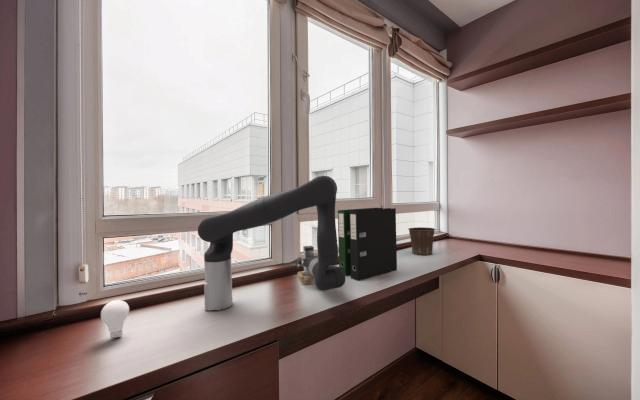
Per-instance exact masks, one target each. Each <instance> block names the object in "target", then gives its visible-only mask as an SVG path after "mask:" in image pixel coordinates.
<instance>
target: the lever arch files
mask: <svg viewBox="0 0 640 400" xmlns="http://www.w3.org/2000/svg"><path fill="white" fill-rule="evenodd" d="M396 211H397V208H396V207H394V208H392V207H388V208H387V207H386V208H383V207H368V208H367V207H366V208H365V207H364V208H355V209H354V208H353V209H337V232H338V233H337V235H338V236H337V244H338V267H339V268H341V269H342V270H343V272H344V274H345V277H348V276H350V278H351V279H352V280H355V281H357V282H360V281H363V280H367V279H371V278H374V277H378V276H381V275H385V274H389V273H392V272H395V271H397V270H398V258H397V254H398V253H397V212H396Z"/></svg>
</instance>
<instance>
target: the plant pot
mask: <svg viewBox="0 0 640 400" xmlns="http://www.w3.org/2000/svg"><path fill="white" fill-rule="evenodd" d="M407 230H408V232H409V237H410V243H411V252H412V254H414V255H417V256H419V255H421V256H430V255H432V254H433V249H434V248H433V247H434V245H433V244H434V235H435V230H436V229H435V227H420V226H419V227H409V228H408V229H407Z"/></svg>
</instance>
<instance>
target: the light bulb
mask: <svg viewBox="0 0 640 400" xmlns="http://www.w3.org/2000/svg"><path fill="white" fill-rule="evenodd" d="M129 312H130V306H129V304H128V303H127V302H126V301H124V300H121V299H115V300H112V301H109V302H108V303H106V304H105V305H104V306H103V307H102V309H101V311H100V318H101V320H102V322H103V323H104V324H105V325H106V327H107V329H108V332H109V337H110V339H113V338H117V337H119V338H120V337H122V336H123V334H124V333H123V328H124V323H125V322H126V319H127V317H128V316H129ZM117 339H118V338H117Z"/></svg>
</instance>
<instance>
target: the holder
mask: <svg viewBox="0 0 640 400" xmlns="http://www.w3.org/2000/svg"><path fill="white" fill-rule="evenodd" d="M297 280H298V281H299V283H300V285H301V286H306V285H314V284H315V277H314V276H304V270H303V271H297ZM315 285H316V284H315Z"/></svg>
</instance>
